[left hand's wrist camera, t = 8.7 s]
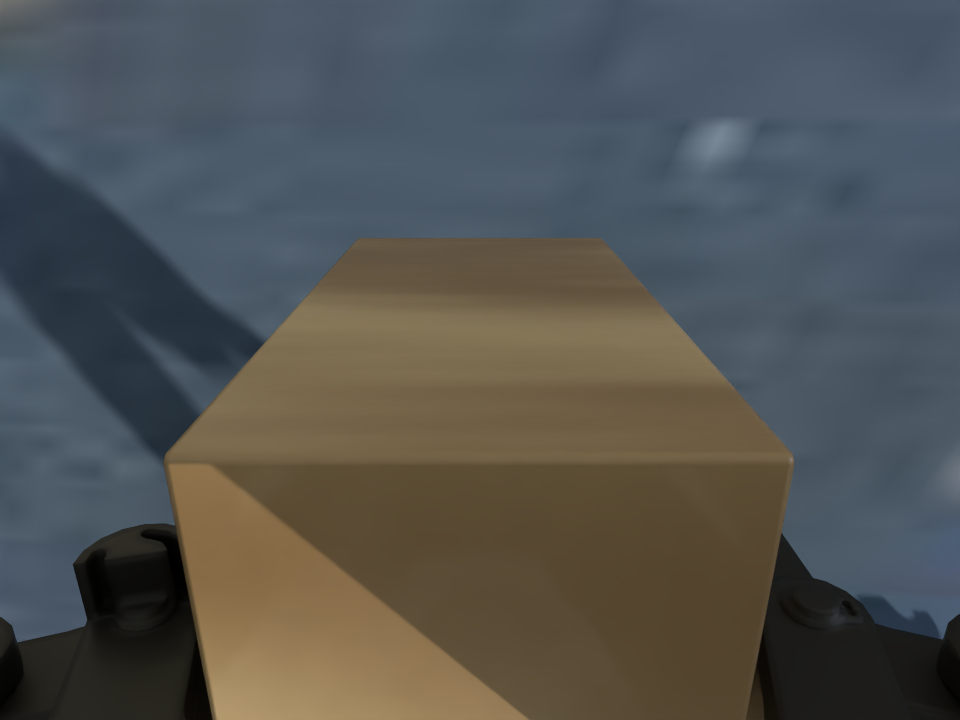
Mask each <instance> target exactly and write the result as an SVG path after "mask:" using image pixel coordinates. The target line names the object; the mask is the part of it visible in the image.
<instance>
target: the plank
mask: <svg viewBox="0 0 960 720" xmlns="http://www.w3.org/2000/svg"><path fill="white" fill-rule="evenodd" d="M164 469H165V474H166V479H167V485H168V490H169V495H170V500H171V505H172V511H173V516H174V521H175V526H176V531H177V537H178V542H179V547H180V552H181V557H182V563H183V568H184V573H185V578H186V583H187V589H188V594H189V599H190V604H191V609H192V614H193V620H194V625H195V630H196V635H197V640H198V646H199V651H200V656H201V661H202V666H203V672H204V677H205V682H206V687H207V692H208V698H209V703H210V708H211V713H212V718H213V720H746V716H747V710H748V705H749V700H750V695H751V689H752V684H753V679H754V674H755V668H756V663H757V658H758V653H759V647H760V642H761V637H762V632H763V626H764V621H765V616H766V611H767V605H768V600H769V595H770V590H771V584H772V579H773V574H774V569H775V563H776V558H777V553H778V548H779V542H780V537H781V532H782V527H783V521H784V516H785V511H786V506H787V500H788V495H789V490H790V485H791V479H792V474H793V469H794V458H793V454H792V453H791V451H790V450H789V449H788V448H787V447H786V446H785V445H784V444H783V442H782V441H781V440H780V439H779V438H778V437H777V436H776V435H775V433H774V432H773V431H772V430H771V429H770V428H769V427H768V426H767V424H766V423H765V422H764V421H763V420H762V419H761V418H760V416H759V415H758V414H757V413H756V412H755V411H754V410H753V409H752V407H751V406H750V405H749V404H748V403H747V402H746V401H745V400H744V398H743V397H742V396H741V395H740V394H739V393H738V392H737V391H736V389H735V388H734V387H733V386H732V385H731V384H730V383H729V382H728V380H727V379H726V378H725V377H724V376H723V375H722V374H721V372H720V371H719V370H718V369H717V368H716V367H715V366H714V365H713V363H712V362H711V361H710V360H709V359H708V358H707V357H706V356H705V354H704V353H703V352H702V351H701V350H700V349H699V348H698V347H697V345H696V344H695V343H694V342H693V341H692V340H691V339H690V338H689V336H688V335H687V334H686V333H685V332H684V331H683V330H682V329H681V327H680V326H679V325H678V324H677V323H676V322H675V321H674V319H673V318H672V317H671V316H670V315H669V314H668V313H667V312H666V310H665V309H664V308H663V307H662V306H661V305H660V304H659V303H658V301H657V300H656V299H655V298H654V297H653V296H652V295H651V294H650V292H649V291H648V290H647V289H646V288H645V287H644V286H643V285H642V283H641V282H640V281H639V280H638V279H637V278H636V277H635V275H634V274H633V273H632V272H631V271H630V270H629V269H628V268H627V266H626V265H625V264H624V263H623V262H622V261H621V260H620V259H619V257H618V256H617V255H616V254H615V253H614V252H613V251H612V250H611V248H610V247H609V246H608V245H607V244H606V243H605V242H604V241H603V239H600V238H360V239H357V240H356V241H355V242H354V243H353V245H352V246H351V247H350V248H349V249H348V250H347V251H346V252H345V254H344V255H343V256H342V257H341V258H340V259H339V260H338V261H337V263H336V264H335V265H334V266H333V267H332V268H331V269H330V270H329V271H328V273H327V274H326V275H325V276H324V277H323V278H322V279H321V280H320V282H319V283H318V284H317V285H316V286H315V287H314V288H313V289H312V290H311V292H310V293H309V294H308V295H307V296H306V297H305V298H304V299H303V301H302V302H301V303H300V304H299V305H298V306H297V307H296V308H295V309H294V311H293V312H292V313H291V314H290V315H289V316H288V317H287V318H286V320H285V321H284V322H283V323H282V324H281V325H280V326H279V327H278V328H277V330H276V331H275V332H274V333H273V334H272V335H271V336H270V337H269V339H268V340H267V341H266V342H265V343H264V344H263V345H262V346H261V347H260V349H259V350H258V351H257V352H256V353H255V354H254V355H253V356H252V358H251V359H250V360H249V361H248V362H247V363H246V364H245V365H244V366H243V368H242V369H241V370H240V371H239V372H238V373H237V374H236V375H235V377H234V378H233V379H232V380H231V381H230V382H229V383H228V384H227V386H226V387H225V388H224V389H223V390H222V391H221V392H220V393H219V394H218V396H217V397H216V398H215V399H214V400H213V401H212V402H211V403H210V405H209V406H208V407H207V408H206V409H205V410H204V411H203V412H202V413H201V415H200V416H199V417H198V418H197V419H196V420H195V421H194V422H193V424H192V425H191V426H190V427H189V428H188V429H187V430H186V431H185V432H184V434H183V435H182V436H181V437H180V438H179V439H178V440H177V441H176V443H175V444H174V445H173V446H172V447H171V448H170V449H169V450H168V451H167V453H166V454H165V458H164Z"/></svg>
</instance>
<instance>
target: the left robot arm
mask: <svg viewBox="0 0 960 720" xmlns="http://www.w3.org/2000/svg"><path fill="white" fill-rule="evenodd" d="M73 567H74V570H75V574H76V578H77V582H78V586H79V589H80V593H81V597H82V601H83V605H84V608H85V612H86V616H87V623H86V625H85V626H84V627H81V628H78V629H74V630H71V631H67V632H63V633H58V634H54V635H49V636H45V637H40V638H36V639H31V640H27V641H22V642H18V643H17V641H16V637H15V634H14V631H13V628H12V625H10V624H9V623H8V622H7V621H5V620H4V619H3V618H2V617H0V720H213V718H212V713H211V708H210V703H209V698H208V692H207V687H206V682H205V677H204V672H203V666H202V661H201V656H200V651H199V646H198V640H197V635H196V630H195V625H194V620H193V614H192V609H191V604H190V599H189V594H188V589H187V583H186V578H185V573H184V568H183V563H182V557H181V552H180V547H179V542H178V537H177V531H176V526H173V525H169V524H144V525H139V526H135V527H131V528H126V529H122V530H120V531H118V532H115V533H113V534H111V535H108V536H106V537H104V538H101V539H100V540H98V541H97V542H95V543H94V544H93V545H91V546H90V547H88V548H87V549H85V550H84V551H83V552H82V553H81V555H80V556H79V557H78V558H77V560H76V561H75V562H74V563H73ZM746 720H960V614H959V615H957V616H956V617H955V618H954V619H952V620H951V621H950V622H949V623H948V625H947V629H946V632H945V635H944V638H943V640H942V639H937V638H932V637H928V636H923V635H919V634H914V633H910V632H905V631H901V630H896V629H892V628H888V627H885V626H881V625H878V624H875V623H874V621H873V619H872V617H871V616H870V615H869V613H868V612H867V610H866V609H865V607H864V606H863V604H861V603H860V602H859V601H858V600H856V599H855V598H854V597H853V596H851V595H850V594H849V593H848V592H846V591H844V590H842V589H840V588H838V587H836V586H834V585H832V584H830V583H828V582H826V581H822V580H818V579H814V578H813V577H812V576H811V574H810V573H809V572H808V570H807V569H806V567H805V566H804V564H803V563H802V562H801V560H800V559H799V557H798V556H797V554H796V553H795V552H794V550H793V549H792V547H791V546H790V544H789V543H788V542H787V540H786V539H785V537H784V536H783V534H782V533H781V537H780V542H779V548H778V553H777V558H776V563H775V569H774V574H773V579H772V584H771V590H770V595H769V600H768V605H767V611H766V616H765V621H764V626H763V632H762V637H761V642H760V647H759V653H758V658H757V663H756V668H755V674H754V679H753V684H752V689H751V695H750V700H749V705H748V710H747V716H746Z"/></svg>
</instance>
